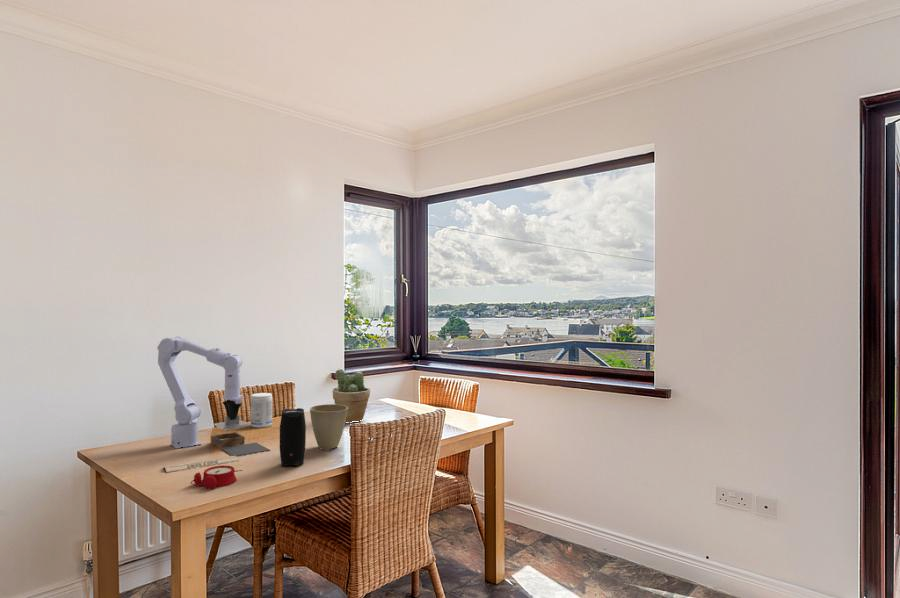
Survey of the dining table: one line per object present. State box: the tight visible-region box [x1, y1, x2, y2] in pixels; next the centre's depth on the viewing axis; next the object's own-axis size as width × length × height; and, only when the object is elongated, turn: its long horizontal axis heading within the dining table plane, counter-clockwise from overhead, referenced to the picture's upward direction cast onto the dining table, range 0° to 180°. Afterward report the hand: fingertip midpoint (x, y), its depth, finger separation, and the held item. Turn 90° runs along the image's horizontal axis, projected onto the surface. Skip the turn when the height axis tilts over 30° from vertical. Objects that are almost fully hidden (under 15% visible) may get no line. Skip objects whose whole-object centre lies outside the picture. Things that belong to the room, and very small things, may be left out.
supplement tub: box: [250, 392, 273, 429], centre depth 253 cm, size 10×10×15 cm
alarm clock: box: [190, 465, 243, 490], centre depth 174 cm, size 10×6×15 cm
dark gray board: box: [220, 442, 271, 457], centre depth 212 cm, size 14×14×1 cm
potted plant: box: [332, 368, 371, 422], centre depth 266 cm, size 18×19×25 cm
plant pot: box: [309, 403, 348, 450], centre depth 217 cm, size 15×15×16 cm
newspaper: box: [162, 455, 239, 474], centre depth 192 cm, size 24×7×2 cm, turn 127°
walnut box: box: [210, 431, 245, 449], centre depth 221 cm, size 10×10×3 cm
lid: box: [214, 414, 251, 431], centre depth 219 cm, size 10×10×5 cm
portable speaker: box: [279, 407, 307, 468], centre depth 194 cm, size 9×9×20 cm
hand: (232, 419), depth 219 cm, fingers closed on lid
